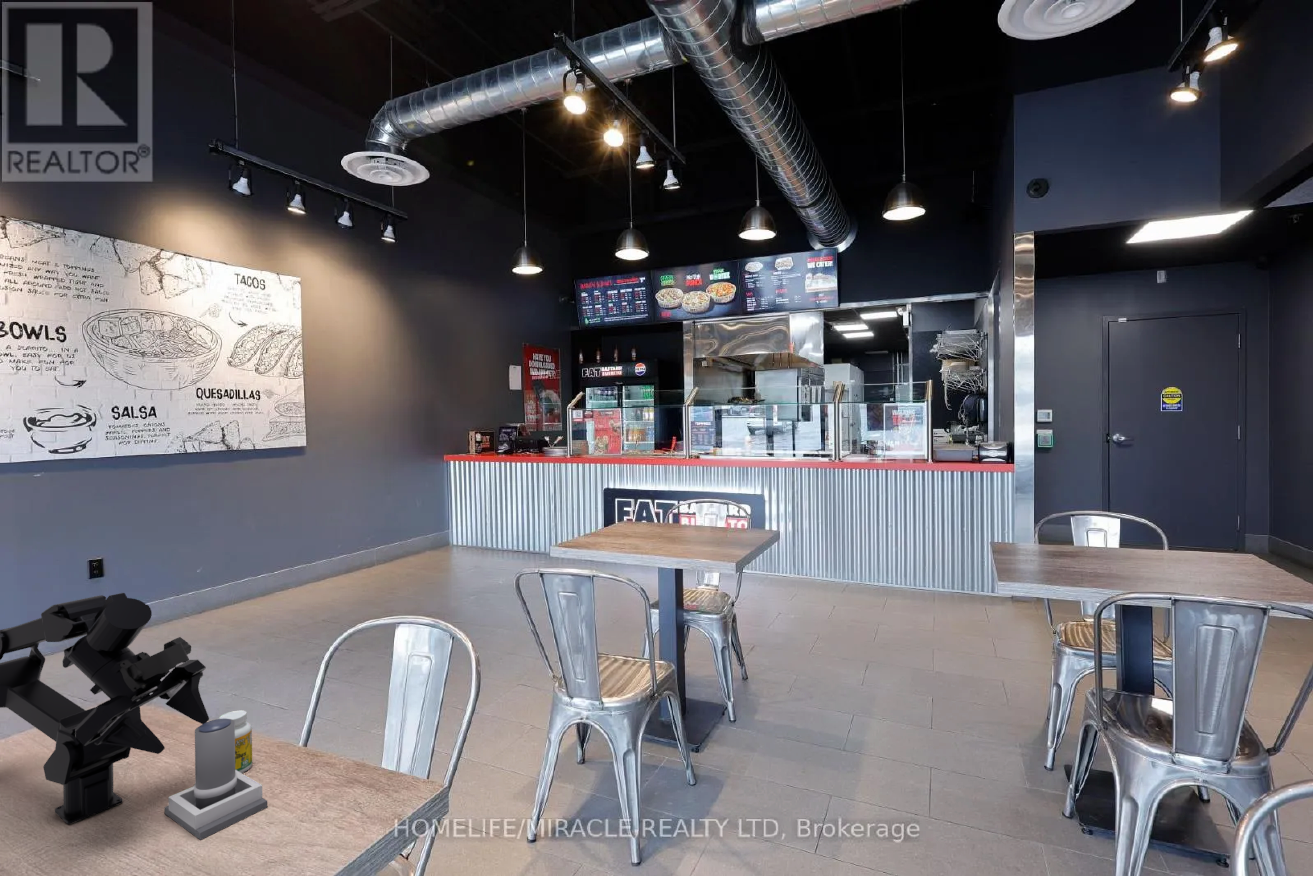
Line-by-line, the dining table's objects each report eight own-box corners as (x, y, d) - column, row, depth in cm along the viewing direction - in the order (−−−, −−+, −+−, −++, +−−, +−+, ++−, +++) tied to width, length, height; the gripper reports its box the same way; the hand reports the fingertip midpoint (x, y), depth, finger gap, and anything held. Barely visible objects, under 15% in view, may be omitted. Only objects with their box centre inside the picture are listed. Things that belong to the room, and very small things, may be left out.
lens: (187, 807, 93) (186, 727, 93) (227, 789, 98) (226, 713, 98) (203, 818, 90) (202, 736, 90) (243, 800, 95) (242, 721, 95)
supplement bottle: (252, 758, 109) (251, 705, 109) (252, 772, 105) (251, 716, 105) (215, 768, 106) (214, 713, 106) (213, 782, 102) (213, 725, 102)
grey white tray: (164, 813, 93) (164, 794, 93) (230, 784, 101) (229, 766, 101) (200, 840, 87) (200, 819, 87) (267, 807, 95) (267, 788, 95)
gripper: (95, 649, 85) (176, 727, 85) (193, 611, 103) (260, 675, 104) (38, 707, 85) (119, 784, 85) (147, 658, 103) (213, 721, 104)
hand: (185, 735), depth 94 cm, fingers open, 9 cm apart
